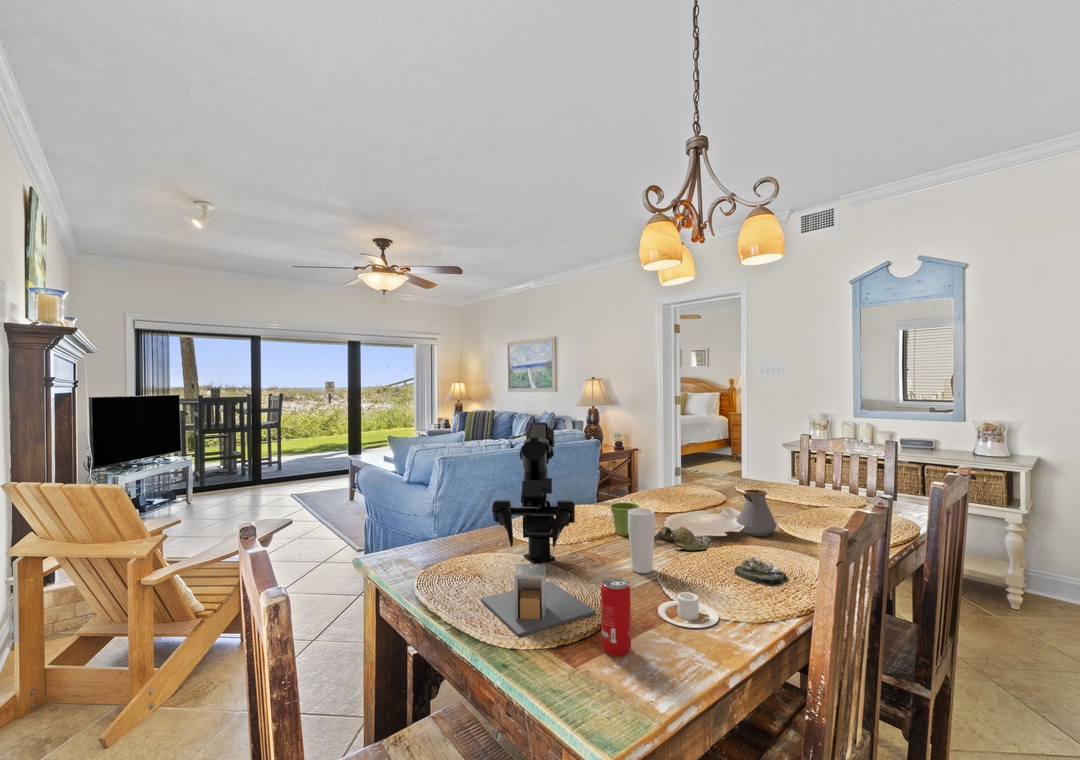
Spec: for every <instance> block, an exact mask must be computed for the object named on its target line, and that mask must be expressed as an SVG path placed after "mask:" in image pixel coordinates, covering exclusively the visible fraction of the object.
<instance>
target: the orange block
mask: <svg viewBox="0 0 1080 760" xmlns="http://www.w3.org/2000/svg"><path fill="white" fill-rule="evenodd" d="M540 615H541V591H537V590H522V592H521V596H520V619H540Z"/></svg>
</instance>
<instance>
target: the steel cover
mask: <svg viewBox="0 0 1080 760" xmlns="http://www.w3.org/2000/svg"><path fill="white" fill-rule="evenodd" d="M546 566H547V565H546V564H543V563H542V564H541V563H518V564H517V565H516V568H515V572H514V576H513V577H514V583H513V584H514V590H515V620H518V617H519V612H520V596H521V592H522V590H537V591H541V608H542V621H545V614H546V582H547V581H546V580H547V575H546V574H547V571H546V570H547V567H546Z"/></svg>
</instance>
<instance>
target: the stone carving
mask: <svg viewBox="0 0 1080 760" xmlns="http://www.w3.org/2000/svg"><path fill="white" fill-rule="evenodd" d="M734 574H735V575H736V576H738V577H740V578H742V579H744V580H747V581H751V582H753V583H757V584H759V585H767V586H777V585H782V584H784V583H785V582H787V579H788V576H787V575H786V573H784V572H782V571H781V568H780V567H779V566H777V565H773V564H772V563H769V564H767V563H766V562H764V561H762V560H761V559H758V558H755V557H754V556H751V557H749V558H748V560H747V559H745V560H743V561H742V562H741V566H740V565H739V566H736V567H735V568H734Z"/></svg>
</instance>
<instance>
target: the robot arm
mask: <svg viewBox="0 0 1080 760" xmlns="http://www.w3.org/2000/svg"><path fill="white" fill-rule="evenodd" d="M525 432H526V436H525V440H524V442H523V445H521V447H520V450H519V459H520V460H521V461H522V468H523V469H524V470H523V471H524V472H523V480H522V481H521V491H520V503H521V505H511V500H510V499H505V500H504V499H501V500H500V499H496V500H495V501H493V502H492V506H491V507H492V508H491V512H492V516H493V521H494V522H495V523H498V524H499V525H500V526H503V527H504V528H505V531H506V534H507V537H508V541H509V545H510V547H511V548H513V545H514V534H513V533H514V531H513V520H512V517H513V516H522V538H523V539H525V538H526V539H527V538H528V553H525V554H523V558H525V559H527V561H530V562H532V564H541V563H543V562H548V561H552V560H555V559H556V557H555V556H554V555H552V554H551V539H552V548H555V547H556V545H557V542H558V539H559V537H560V535H561V533H562V531H563V530H564V528H565V527H568V526H570V524H573V523H575V522H576V519H575V517H576V510H575V508H576V507H575V505H576V504H575V502H574V501H573V500H570V499H569V500H567V499H565V500H559V499H558V500H557V506H551V503H550V500H548V498H547V497H548V495H551V494H553V478H552V477H551V478H550V477H548V464H549V463H550V461H551V460H552V458H553V457H554V455H555V454H554V452H555V451H554V449H553V448H555V430H553V429H552V428H551V427H550V426H549V423H548V422H546V421H540V422H537V421H535V422H531V423H530V427H529V428H528V429H527V430H526V431H525Z"/></svg>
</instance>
